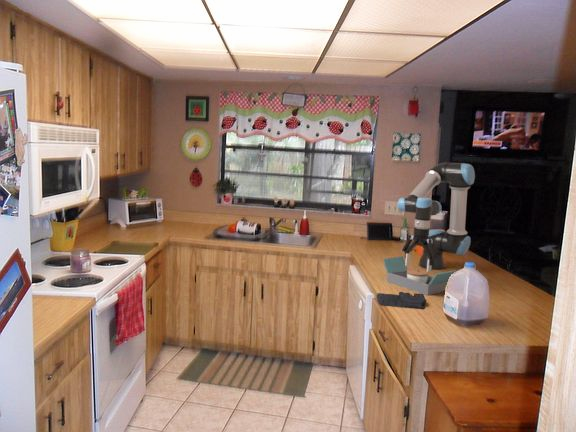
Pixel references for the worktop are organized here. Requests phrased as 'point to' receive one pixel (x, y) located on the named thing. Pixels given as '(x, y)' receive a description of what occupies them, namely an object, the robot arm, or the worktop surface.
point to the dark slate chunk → (402, 300)
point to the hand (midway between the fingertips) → (417, 268)
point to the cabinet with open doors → (399, 277)
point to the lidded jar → (417, 275)
